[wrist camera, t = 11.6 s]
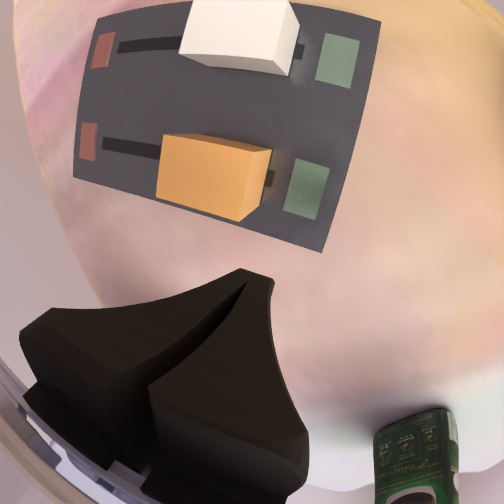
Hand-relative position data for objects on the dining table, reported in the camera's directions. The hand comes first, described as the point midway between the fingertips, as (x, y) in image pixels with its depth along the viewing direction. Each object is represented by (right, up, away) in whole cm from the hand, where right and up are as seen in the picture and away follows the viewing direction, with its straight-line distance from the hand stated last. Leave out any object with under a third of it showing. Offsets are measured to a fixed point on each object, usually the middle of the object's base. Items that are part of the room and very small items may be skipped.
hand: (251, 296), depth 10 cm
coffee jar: (+18, -18, +12) cm, 28 cm away
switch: (0, +14, +3) cm, 14 cm away
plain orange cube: (-1, +7, +7) cm, 9 cm away
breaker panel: (-4, +12, +7) cm, 15 cm away
